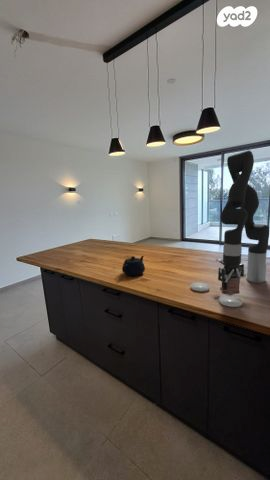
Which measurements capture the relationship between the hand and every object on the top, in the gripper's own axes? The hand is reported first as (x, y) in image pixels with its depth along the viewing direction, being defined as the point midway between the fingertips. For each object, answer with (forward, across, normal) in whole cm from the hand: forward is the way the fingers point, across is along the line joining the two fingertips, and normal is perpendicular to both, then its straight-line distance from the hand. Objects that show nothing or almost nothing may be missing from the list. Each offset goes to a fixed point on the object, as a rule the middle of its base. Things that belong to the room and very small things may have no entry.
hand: (230, 287), depth 98 cm
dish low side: (+8, 0, 0) cm, 8 cm away
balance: (+8, -11, -10) cm, 17 cm away
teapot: (+8, +19, -63) cm, 66 cm away
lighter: (+3, 0, 0) cm, 3 cm away
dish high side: (+8, 0, -20) cm, 21 cm away
